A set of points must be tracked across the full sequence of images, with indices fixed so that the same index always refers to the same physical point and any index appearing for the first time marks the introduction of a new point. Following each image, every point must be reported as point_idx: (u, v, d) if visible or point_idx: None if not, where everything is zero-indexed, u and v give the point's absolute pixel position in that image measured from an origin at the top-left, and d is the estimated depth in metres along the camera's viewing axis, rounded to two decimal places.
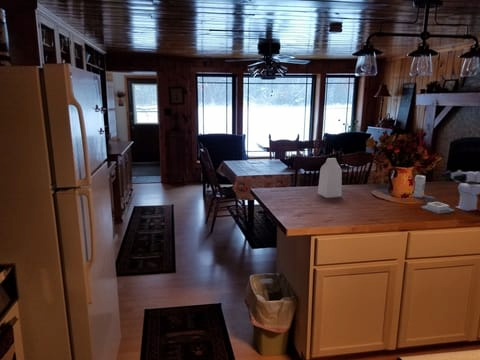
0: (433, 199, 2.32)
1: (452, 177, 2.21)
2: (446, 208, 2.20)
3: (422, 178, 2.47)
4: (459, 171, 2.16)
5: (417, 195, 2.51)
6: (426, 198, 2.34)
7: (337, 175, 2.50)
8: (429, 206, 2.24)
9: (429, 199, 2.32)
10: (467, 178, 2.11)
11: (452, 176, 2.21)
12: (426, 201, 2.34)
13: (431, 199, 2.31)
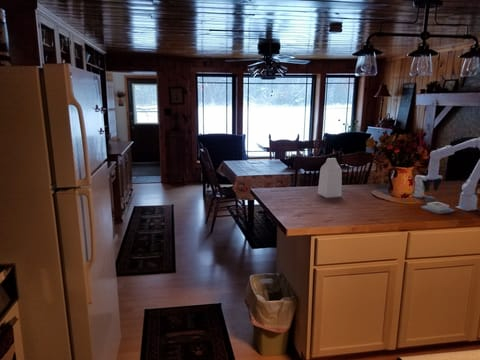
0: (433, 199, 2.32)
1: (437, 177, 2.31)
2: (446, 208, 2.20)
3: (422, 178, 2.47)
4: None
5: (417, 195, 2.51)
6: (426, 198, 2.34)
7: (337, 175, 2.50)
8: (429, 206, 2.24)
9: (429, 199, 2.32)
10: (424, 180, 2.29)
11: None
12: (426, 201, 2.34)
13: (431, 199, 2.31)
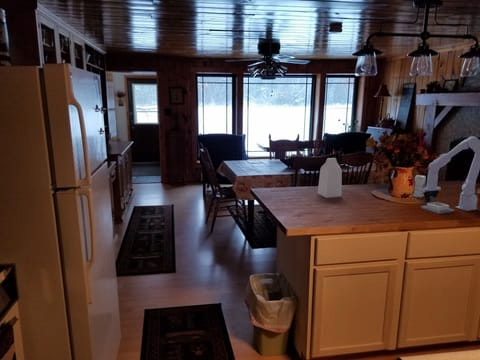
0: (433, 199, 2.32)
1: None
2: (446, 208, 2.20)
3: (422, 178, 2.47)
4: None
5: (417, 195, 2.51)
6: None
7: (337, 175, 2.50)
8: (429, 206, 2.24)
9: None
10: (422, 191, 2.30)
11: None
12: None
13: (431, 199, 2.31)
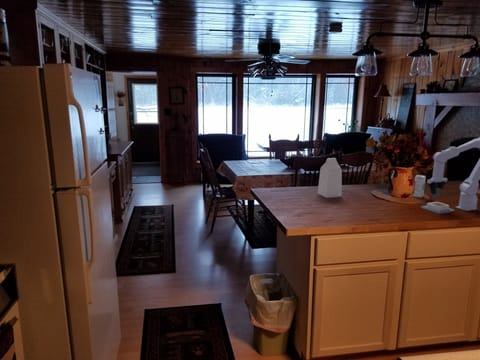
0: (439, 190, 2.24)
1: None
2: (446, 208, 2.20)
3: (422, 178, 2.47)
4: None
5: (417, 195, 2.51)
6: None
7: (337, 175, 2.50)
8: (429, 206, 2.24)
9: None
10: (428, 182, 2.23)
11: None
12: None
13: (437, 190, 2.24)
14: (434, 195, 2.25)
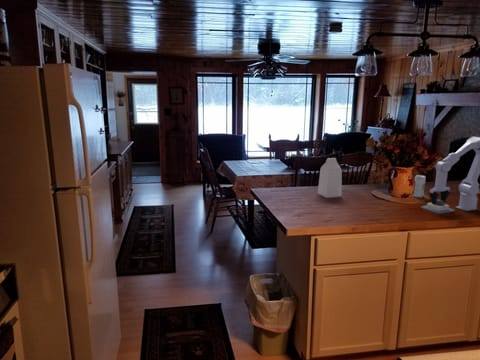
0: (441, 202, 2.21)
1: None
2: (446, 208, 2.20)
3: (422, 178, 2.47)
4: None
5: (417, 195, 2.51)
6: None
7: (337, 175, 2.50)
8: (429, 206, 2.24)
9: (437, 202, 2.21)
10: (431, 192, 2.19)
11: None
12: (434, 204, 2.23)
13: (439, 202, 2.20)
14: None
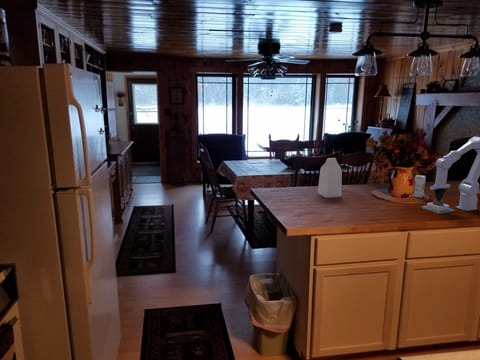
0: (441, 202, 2.21)
1: (445, 186, 2.21)
2: (446, 208, 2.20)
3: (422, 178, 2.47)
4: None
5: (417, 195, 2.51)
6: (434, 201, 2.23)
7: (337, 175, 2.50)
8: (429, 206, 2.24)
9: (437, 202, 2.21)
10: (431, 189, 2.19)
11: None
12: (434, 204, 2.23)
13: (439, 202, 2.20)
14: None
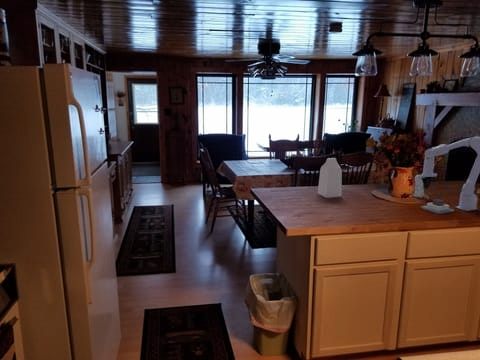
0: (441, 202, 2.21)
1: (432, 175, 2.35)
2: (446, 208, 2.20)
3: None
4: None
5: (417, 195, 2.51)
6: (434, 201, 2.23)
7: (337, 175, 2.50)
8: (429, 206, 2.24)
9: (437, 202, 2.21)
10: None
11: None
12: (434, 204, 2.23)
13: (439, 202, 2.20)
14: None
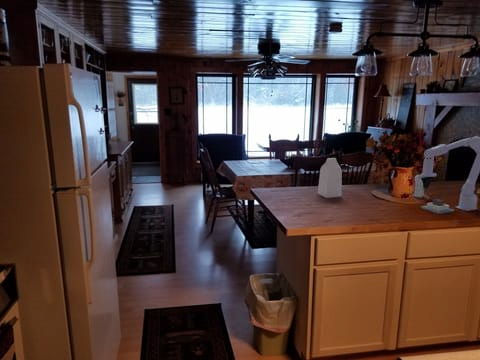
0: (441, 202, 2.21)
1: (432, 175, 2.36)
2: (446, 208, 2.20)
3: None
4: None
5: (417, 195, 2.51)
6: (434, 201, 2.23)
7: (337, 175, 2.50)
8: (429, 206, 2.24)
9: (437, 202, 2.21)
10: (418, 177, 2.33)
11: (431, 175, 2.36)
12: (434, 204, 2.23)
13: (439, 202, 2.20)
14: None
